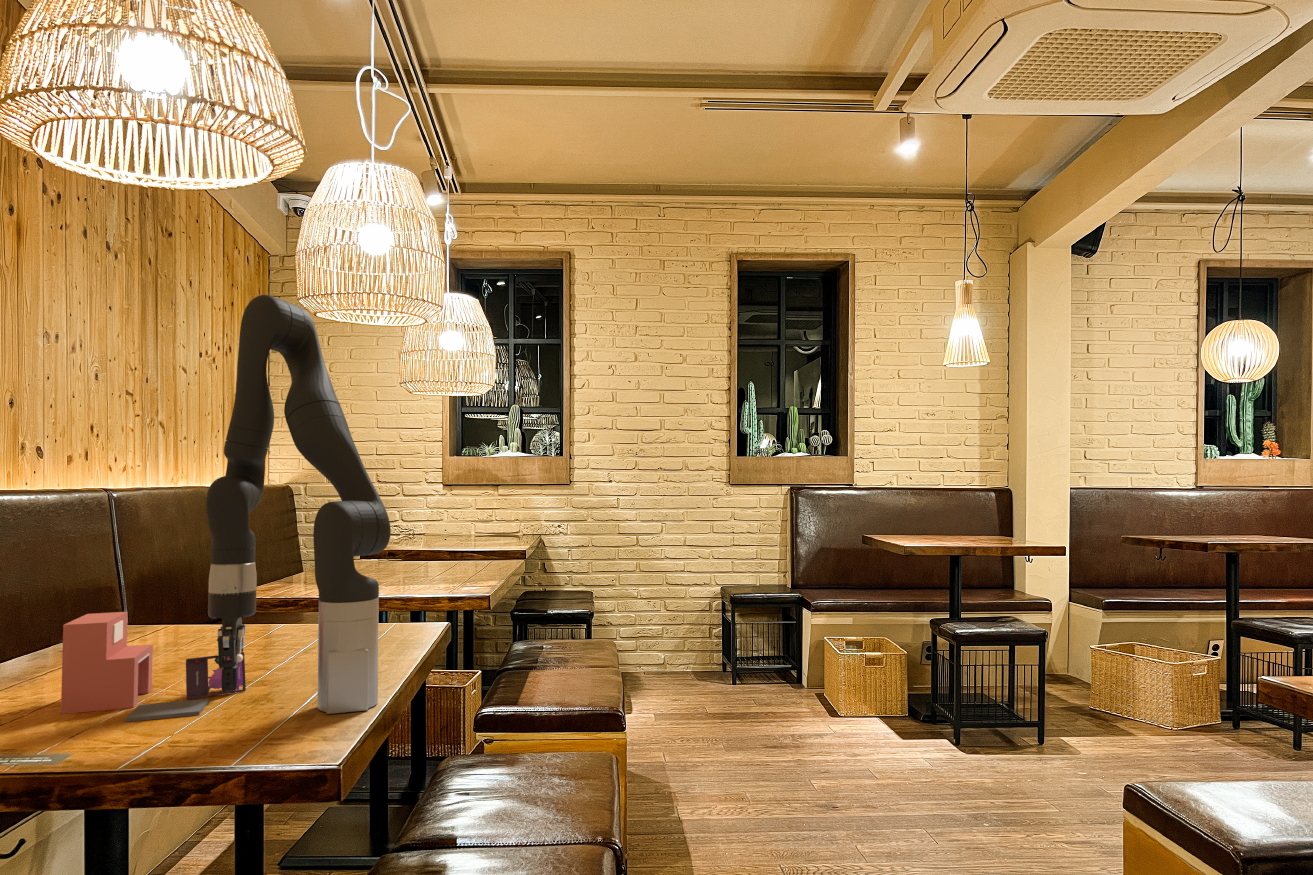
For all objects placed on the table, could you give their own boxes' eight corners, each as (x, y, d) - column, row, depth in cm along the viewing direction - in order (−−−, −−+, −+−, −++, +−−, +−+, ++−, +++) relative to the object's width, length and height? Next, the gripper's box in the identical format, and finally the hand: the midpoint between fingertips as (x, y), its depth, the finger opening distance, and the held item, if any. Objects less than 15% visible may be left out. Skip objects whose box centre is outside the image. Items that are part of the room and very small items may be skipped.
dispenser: (133, 707, 133) (135, 620, 134) (60, 713, 130) (63, 624, 131) (151, 690, 145) (153, 610, 145) (85, 695, 141) (87, 613, 142)
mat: (198, 714, 129) (199, 711, 129) (125, 721, 125) (125, 717, 125) (208, 702, 136) (208, 698, 136) (138, 708, 133) (139, 704, 133)
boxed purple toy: (186, 658, 139) (244, 651, 145) (183, 663, 143) (240, 656, 148) (187, 698, 137) (246, 690, 142) (183, 702, 141) (241, 694, 146)
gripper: (251, 592, 139) (249, 695, 138) (261, 583, 152) (259, 677, 151) (201, 595, 137) (198, 699, 136) (215, 585, 150) (213, 680, 149)
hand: (230, 687), depth 144 cm, fingers closed on boxed purple toy, 3 cm apart
